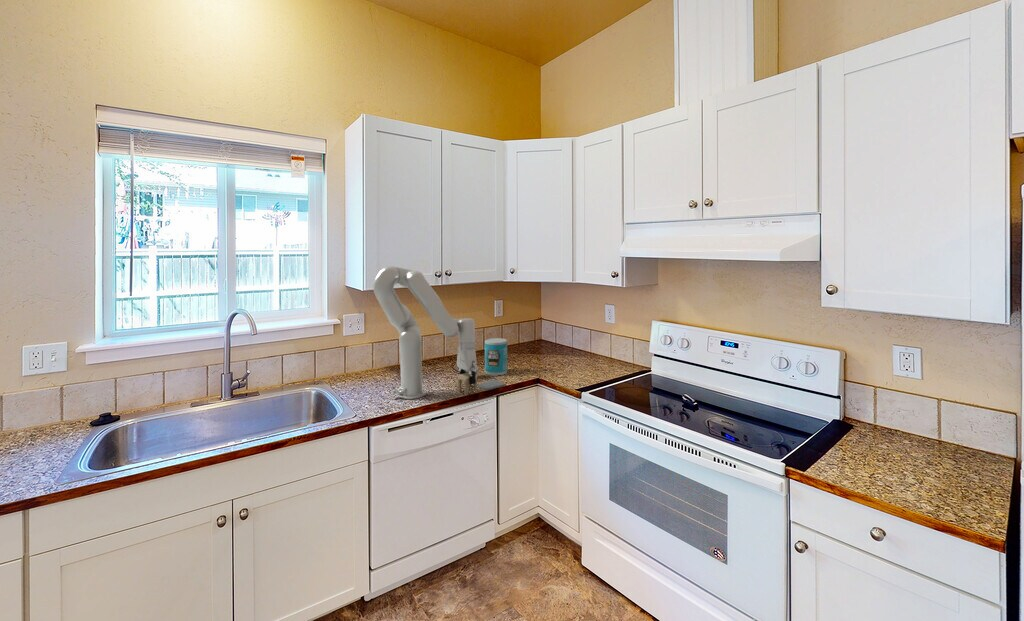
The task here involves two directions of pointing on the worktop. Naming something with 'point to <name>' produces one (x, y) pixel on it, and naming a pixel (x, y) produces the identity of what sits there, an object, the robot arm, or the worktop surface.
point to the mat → (491, 384)
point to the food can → (495, 356)
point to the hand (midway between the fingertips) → (467, 381)
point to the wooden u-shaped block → (466, 383)
